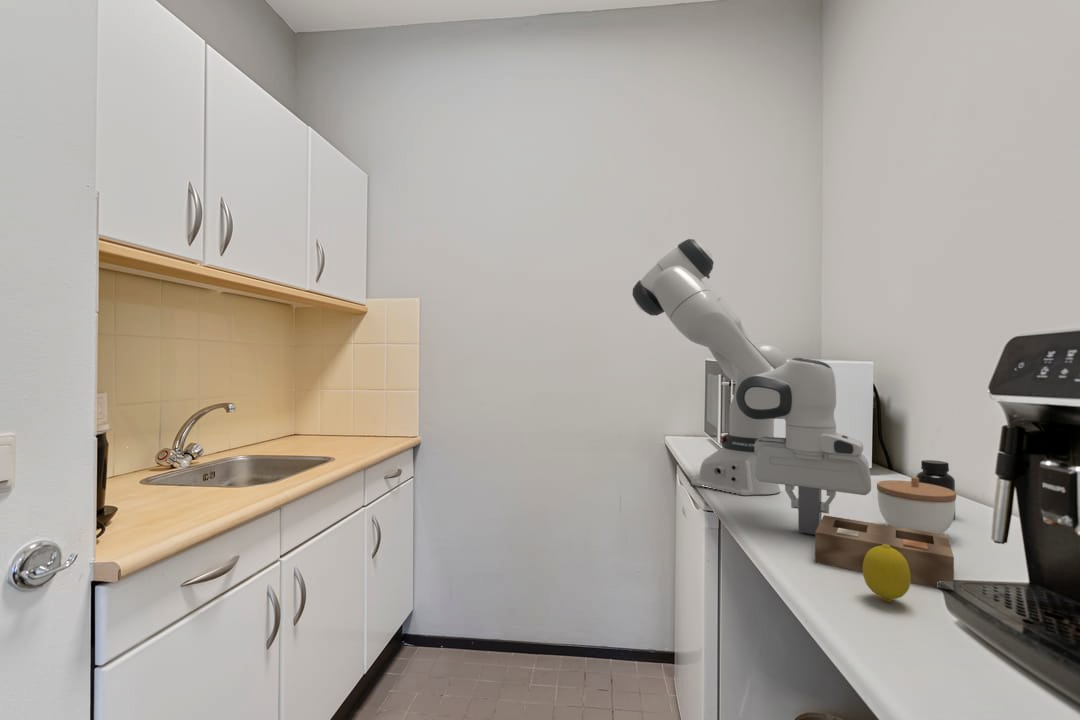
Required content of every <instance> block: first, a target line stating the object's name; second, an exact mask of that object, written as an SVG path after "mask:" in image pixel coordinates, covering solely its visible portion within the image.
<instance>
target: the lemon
mask: <svg viewBox="0 0 1080 720" xmlns="http://www.w3.org/2000/svg"><path fill="white" fill-rule="evenodd" d="M862 576H863V579H864V583H865V584H866V586H867V587H868V588H869V589H870V591H871V592H872V593H874V594H875V595H877V596H878V597H880V598H881V600H882V601H884V602H886V603H888V602H890V601H892V600H895V599H896V600H897V599H900V598H902V597H903V596H906V595H905V594H907V593H908V591H909V589H910V586H911V582H910V581H911V577H910V570H909V566H908V563H907V561H906V559H905V558H904V557H903V555H902V554H901V553H900V552H898V551H897V550H895V549H893V548H891V547H890V546H889V545H888V544H883V545H882V546H876V547H874V548H872V549H870V550H869V551H868V552H867V554H866V555H865V558H864V561H863V572H862Z"/></svg>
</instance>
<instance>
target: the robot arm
mask: <svg viewBox="0 0 1080 720" xmlns="http://www.w3.org/2000/svg"><path fill="white" fill-rule="evenodd" d="M714 262H715V261H714V260H713V256H712V253H711V252H710V249H708V247H707V246H706V245H704V244H703V243H701V242H700V241H697V240H695V239H691V238H688V239H686V240H684V241H681V242H680V243H679V244H678V245H677V247H675V248H674V249H672V250H671V251H669V252H668V253H667V254H665V255H664V256H663V257H661V258H660V260H658V261H657V263H656V264H655V265H653V267H652V268H651V269H650V270H649V271H647V273H646V274H645V275H644V276H643V277H642V278H641V279H639V280H638V281H637V282H636V284H635V285H634V286H633V288H632V293H631V294H632V296H633V299H634V302H635V304H636V306H637V307H638V308H639V309H640V310H641V311H643V312H644V313H646V314H647V315H649V316H658V315H661V314H663V313H665V315H666V316H667V318H668V319H669V321H670V322H671V323H672V324H673V326H674V327H675V328H676V329H677V330H678V331H679V333H681V334H682V335H683V336H684V337H685V338H686V339H688V340H689V341H691V342H692V343H694V344H697V345H700V346H703V347H706V348H708V350H709V351H710V353H711V354H712V356H713V357H714V359H715V361H716V362H717V363H718V365H719V367H720V368H721V370H722V372H723V374H724V375H725V376H726V377H727V378H728V379H729V380H731V381H733V382H735V387H734V393H733V397H732V400H731V402H730V404H729V411H728V412H729V416H728V417H729V418H728V419H729V423H728V424H729V428H728V429H729V431H728V433H726V434H724V435H723V436H722V437H721V438H720V443H721V446H722V447H721V448H719V449H718V450H716V451H715V452H714V453H712V454H711V455H709V456H708V457H706V458H705V459H704V460H703V461H702V463H701V465H700V469H699V474H698V475H695V476H692V478H691V479H690V483H691V485H692V486H695V487H700V486H702V485H704V486H708V487H711V488H715V489H719V490H723V491H722V492H724V491H726V492H725V493H729V492H731V494H734V493H736V494H735V495H739V494H740V496H753V495H773V494H778V493H780V492H781V489H780V485H784V491H785V492H786V494H787V496H788V497H789V499H790V500H791V501H790V502H791V503H790V507H791V509H797V510H798V497H797V496H796V495H795V493H794V492H793V490H795V487H798V486H804V487H812V488H819V489H821V491H822V490H823V491H826V496H827V497H828V498H827V499H826V500H825V501H821V503H820V512H822V513H823V514H829V513H830V504H831V503H832V502H833V501H834V500H835V498H836V495H837V493H845V494H853V495H860V496H867V495H868V494H870V492H871V491H872V479H871V478H872V477H871V471H870V470H871V469H870V465H869V462H868V460H867V458H866V457H865V456H864V454H862V453H863V451H864V443H863V442H862V441H861V440H858V439H856V438H854V437H853V438H852V437H850V436H847V435H844V434H841V433H838V432H837V423H836V421H835V414H834V413H835V409H836V407H837V390H836V389H837V387H836V376H835V374H834V373H835V372H834V369H833V368H832V367H831V366H830V365H829V364H828V363H827V362H823V361H820V360H815V359H808V358H803V357H794V358H791V359H789V360H788V361H787V358H786V355H785V353H784V352H783V351H782V350H781V349H780V348H778V347H776V346H774V345H772V344H769V343H765V342H753V341H752V340H751V339H750V338H749V336H748V334H747V333H746V332H747V331H745V329H744V327H743V325H742V321H741V318H740V316H738V315H737V314H736V313H735V311H734V310H733V309H732V308H731V307H730V306H729V304H727V302H726V301H725V300H724V299H723V298H722V297H721V296H720V295H719V294H718V292H717V291H715V290H714V289H713V288H712V287H711V286H710V285H709V284H708V283H707V282H705V281H704V280H703V279H704V278H707V279H708V280H710V277H711V276H710V274H711V273H712V271H713V268H714V264H715V263H714ZM776 419H778V420H779V419H780V420H783V419H784V420H785V437H777V436H776V437H775V436H774V435H775V431H774V430H775V424H774V423H775V420H776ZM719 490H718V491H719Z"/></svg>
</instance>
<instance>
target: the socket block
mask: <svg viewBox="0 0 1080 720" xmlns="http://www.w3.org/2000/svg"><path fill="white" fill-rule="evenodd" d="M814 537H815V538H814V540H815V541H814V552H815V553H814V562H815V561H816V562H815V563H818V562H820V563H819V564H822V563H824V564H823V565H827V564H828V566H832V565H833V567H837V568H841V569H842V568H843V569H847V570H851V571H856V572H861V573H863V561H864V558H865V555H866V554H867V552H868V551H869V550H870V549H872V548H874V547H876V546H882V545H883V544H888V545H889V546H890V547H891V548H893V549H895V550H897V551H898V552H900V553H901V554H902V555H903V557H904V558H905V559H906V561H907V563H908V566H909V570H910V577H911V581H910V583H913V584H918V585H922V586H927V587H933V588H935V589H936V588H937V582H939V581H954V582H955V580H954V579H955V566H954V565H955V556H954V553H953V550H952V549H953V548H952V546H951V542H950V540H949V535H948V534H944V533H942V534H937V533H931V532H925V531H918V530H912V529H906V528H900V527H894V526H890V525H889V524H888V525H886V524H880V523H873V522H867V521H863V520H862V521H861V520H858V519H857V520H856V519H850V518H844V517H838V516H837V517H836V516H830V515H825V514H824V515H823V516H822V520H821V522H820V524H819V526H818V528H817V530H816V532H815V535H814ZM937 589H938V588H937Z"/></svg>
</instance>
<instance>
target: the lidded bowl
mask: <svg viewBox="0 0 1080 720" xmlns="http://www.w3.org/2000/svg"><path fill="white" fill-rule="evenodd" d="M910 478H911V479H910V481H909V480H897V479H894V480H888V479H887V480H881V481H878V482H876V489H877V502H878V508H879V511H880V514H881V517H882V518H883V520H884V521H885V522H886V523H887V524H888V526H894V527H900V528H906V529H912V530H918V531H925V532H931V533H937V534H944V533H945V532H947V531H948V529H949V528H951V526H952V523H953V521H954V513H955V514H956V500H957V492H956V491H955V492H954V491H953V490H950V489H948V488H945V487H941V486H937V485H932V484H926V483H920V482H919V478H916V477H914V476H912V477H910Z"/></svg>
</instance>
